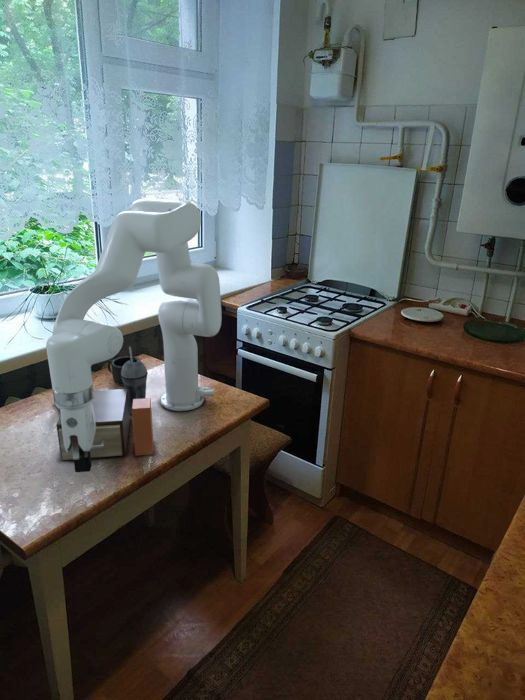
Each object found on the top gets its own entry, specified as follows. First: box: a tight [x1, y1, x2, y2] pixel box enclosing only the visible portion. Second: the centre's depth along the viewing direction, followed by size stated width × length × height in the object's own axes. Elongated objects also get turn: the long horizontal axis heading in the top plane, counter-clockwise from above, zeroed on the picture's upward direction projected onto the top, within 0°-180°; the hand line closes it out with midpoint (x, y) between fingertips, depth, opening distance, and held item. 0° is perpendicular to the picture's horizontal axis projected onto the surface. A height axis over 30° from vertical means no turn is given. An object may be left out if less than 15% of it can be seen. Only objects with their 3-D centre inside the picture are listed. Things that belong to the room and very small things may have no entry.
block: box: [131, 397, 154, 456], centre depth 121 cm, size 4×5×13 cm
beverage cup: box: [121, 346, 148, 414], centre depth 137 cm, size 7×7×20 cm
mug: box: [107, 355, 142, 386], centre depth 157 cm, size 12×9×7 cm
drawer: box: [59, 424, 122, 461], centre depth 121 cm, size 20×14×8 cm
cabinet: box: [55, 388, 131, 461], centre depth 125 cm, size 17×15×10 cm
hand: (83, 469), depth 106 cm, fingers closed
